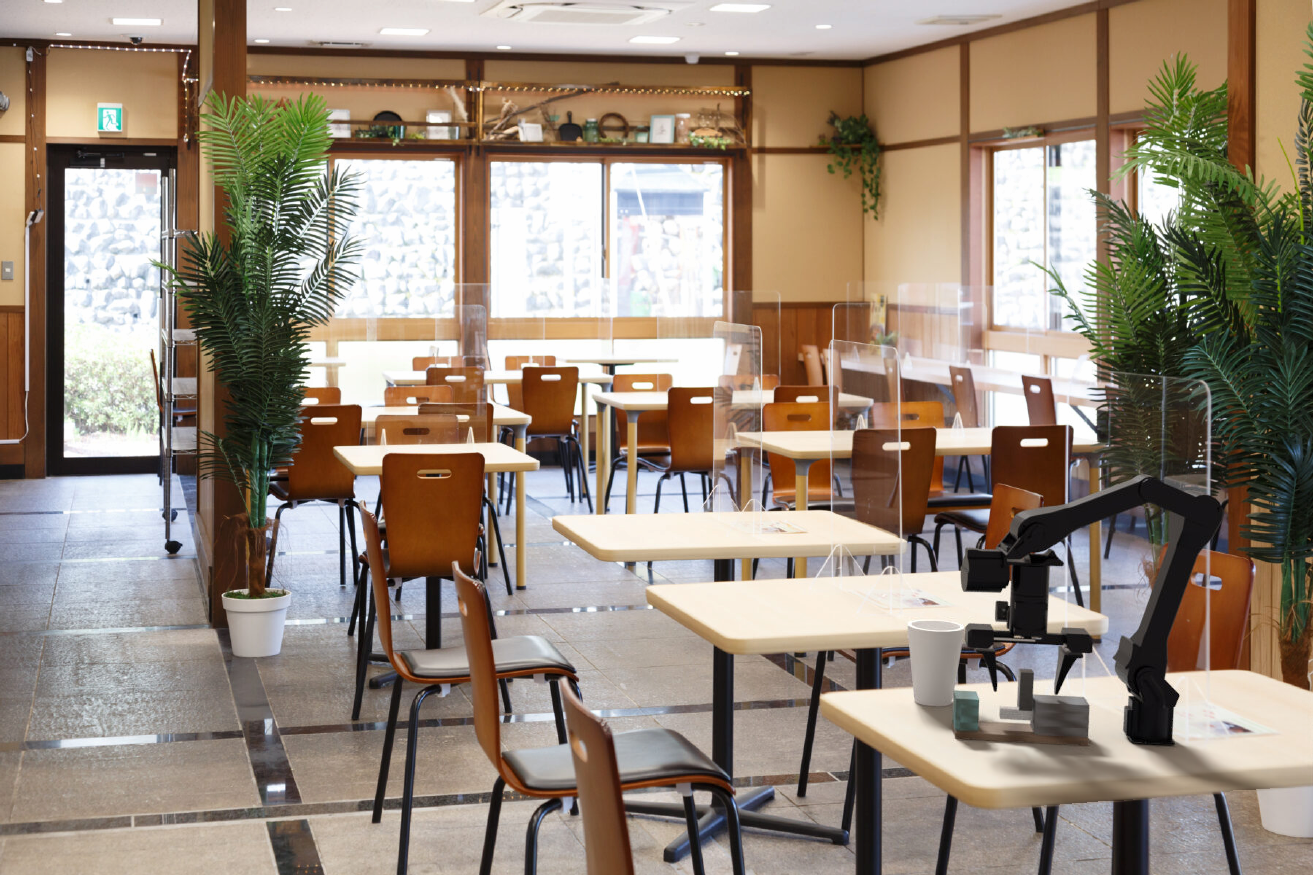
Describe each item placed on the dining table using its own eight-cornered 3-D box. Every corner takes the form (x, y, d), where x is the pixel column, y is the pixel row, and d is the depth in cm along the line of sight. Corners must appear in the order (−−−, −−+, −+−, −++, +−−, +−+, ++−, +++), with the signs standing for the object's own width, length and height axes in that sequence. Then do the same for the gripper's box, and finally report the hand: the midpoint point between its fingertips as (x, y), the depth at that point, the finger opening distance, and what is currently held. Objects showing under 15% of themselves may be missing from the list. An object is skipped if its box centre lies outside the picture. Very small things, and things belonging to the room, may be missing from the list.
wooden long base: (1081, 732, 225) (1082, 695, 224) (1088, 745, 218) (1090, 707, 217) (951, 725, 227) (953, 688, 227) (955, 738, 220) (956, 700, 220)
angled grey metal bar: (1083, 719, 222) (1085, 671, 222) (1085, 724, 220) (1088, 675, 219) (999, 715, 224) (1000, 667, 223) (1000, 719, 221) (1002, 671, 221)
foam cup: (971, 706, 239) (974, 630, 237) (921, 710, 236) (923, 632, 235) (944, 692, 248) (947, 618, 247) (895, 695, 245) (898, 620, 244)
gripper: (1082, 586, 227) (1078, 682, 229) (963, 581, 230) (959, 676, 231) (1095, 599, 216) (1090, 701, 218) (969, 594, 219) (965, 694, 220)
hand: (1025, 692), depth 222 cm, fingers open, 9 cm apart
